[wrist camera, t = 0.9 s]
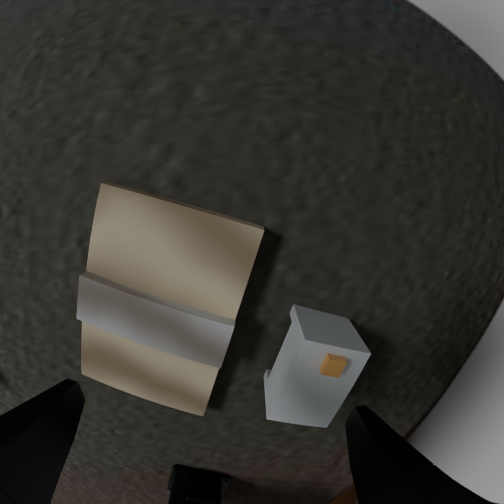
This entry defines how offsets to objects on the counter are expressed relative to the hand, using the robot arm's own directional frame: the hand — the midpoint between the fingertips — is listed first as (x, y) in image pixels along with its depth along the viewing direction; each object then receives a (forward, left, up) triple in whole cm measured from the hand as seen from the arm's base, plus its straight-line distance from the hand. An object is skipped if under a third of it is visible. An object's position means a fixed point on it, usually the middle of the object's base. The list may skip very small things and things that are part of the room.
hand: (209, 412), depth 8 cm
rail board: (-4, +4, -13) cm, 14 cm away
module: (-4, -7, -13) cm, 15 cm away
